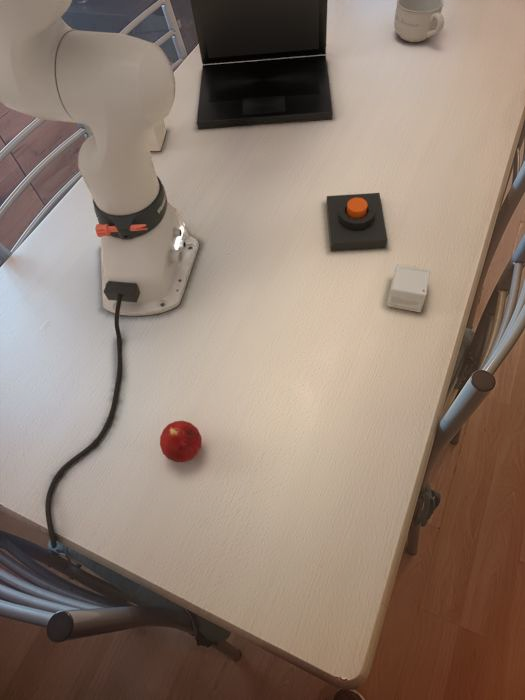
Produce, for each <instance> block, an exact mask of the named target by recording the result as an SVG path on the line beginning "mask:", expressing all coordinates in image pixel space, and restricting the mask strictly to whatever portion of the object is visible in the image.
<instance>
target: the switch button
mask: <svg viewBox="0 0 525 700" xmlns="http://www.w3.org/2000/svg"><path fill="white" fill-rule="evenodd" d="M367 206H368V204H367V202H366V200H364V199H362V198H352V199H350V200H349V201H348V203H347V214H348V216H350V217H352V218H355V219H356V218H362V217H364V216H365V215H366V213H367Z"/></svg>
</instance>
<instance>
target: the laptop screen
mask: <svg viewBox="0 0 525 700" xmlns="http://www.w3.org/2000/svg"><path fill="white" fill-rule="evenodd" d="M328 1H329V0H190V6H191V11H192V16H193V21H194V26H195V32H196V38H197V42H198V43H197V44H198V48H199V54H200V59H201V64H202V66H203V65H211V64H224V63H236V62H248V61H260V60H272V59H285V58H297V57H309V56H321V55H326V56H327V29H328Z"/></svg>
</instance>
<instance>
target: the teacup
mask: <svg viewBox="0 0 525 700" xmlns="http://www.w3.org/2000/svg"><path fill="white" fill-rule="evenodd" d="M444 5H445V1H444V0H396V8H395V15H394V20H393V21H394V22H393V23H394V24H393V25H394V31H395V32H396V34H397V35H398V36H399V38H401V40H404V41H406V42H410V43H419V42H423V41H425V40H427V39H428V38H431V37H432V36H433V35H437V34H439V33H440V32H441V31H442V30H443V28H444V25H445V18H444V15H443V14H442V10H443V7H444Z"/></svg>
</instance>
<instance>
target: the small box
mask: <svg viewBox="0 0 525 700" xmlns="http://www.w3.org/2000/svg"><path fill="white" fill-rule="evenodd" d="M430 273H431V269H430V268H424V267H418V266H411V265H406V264H399V263H396V265H395V269H394V273H393V277H392V281H391V284H390V289H389V292H388V298H387V303H386V306H387V307H388V308H389V307H390V308H394V309H400V310H404V311H405V310H406V311H411V312H415V313H421V311H422V310H423V306H424V304H425V301H426V297H427V295H428V294H427V293H428V288H429V287H428V286H429V280H430Z"/></svg>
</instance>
